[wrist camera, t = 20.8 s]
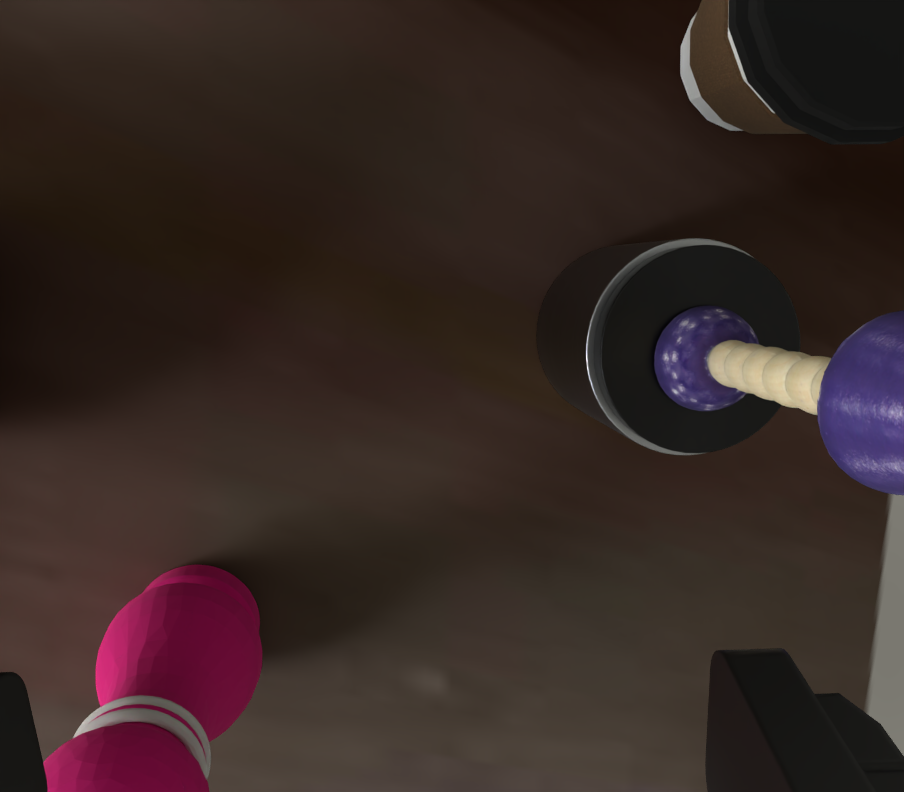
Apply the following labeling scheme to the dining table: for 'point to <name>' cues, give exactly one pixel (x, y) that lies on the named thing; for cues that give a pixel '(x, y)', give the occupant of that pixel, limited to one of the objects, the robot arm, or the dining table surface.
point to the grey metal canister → (656, 336)
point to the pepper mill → (165, 687)
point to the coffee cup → (799, 67)
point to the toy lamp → (799, 384)
